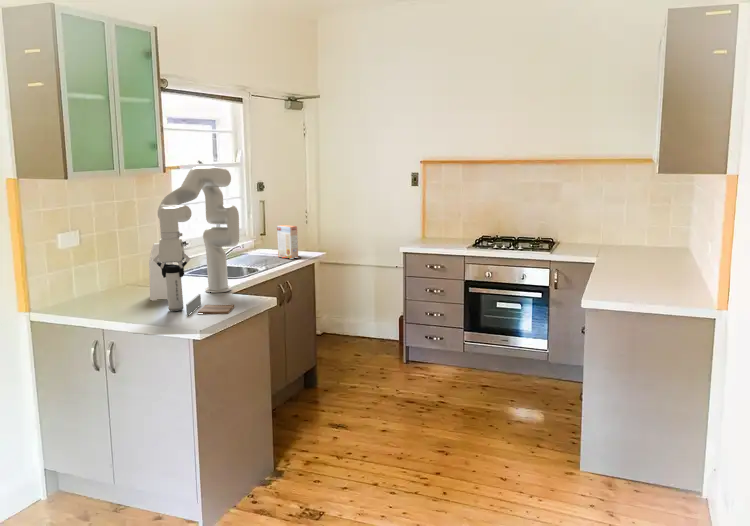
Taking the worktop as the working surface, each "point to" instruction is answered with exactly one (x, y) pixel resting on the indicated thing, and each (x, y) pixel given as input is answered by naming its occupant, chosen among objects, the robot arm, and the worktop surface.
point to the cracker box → (287, 241)
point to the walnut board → (216, 309)
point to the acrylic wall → (193, 304)
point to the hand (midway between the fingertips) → (173, 276)
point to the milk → (157, 276)
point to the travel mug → (174, 287)
